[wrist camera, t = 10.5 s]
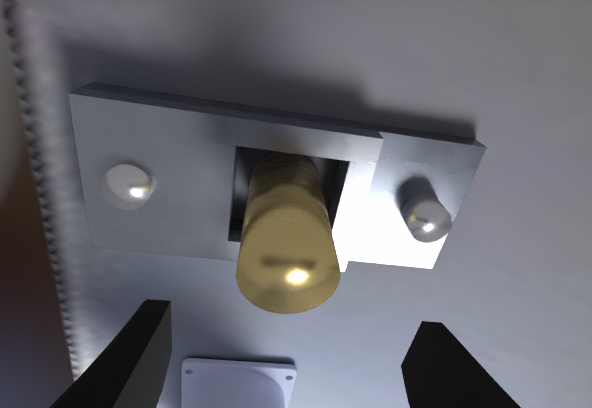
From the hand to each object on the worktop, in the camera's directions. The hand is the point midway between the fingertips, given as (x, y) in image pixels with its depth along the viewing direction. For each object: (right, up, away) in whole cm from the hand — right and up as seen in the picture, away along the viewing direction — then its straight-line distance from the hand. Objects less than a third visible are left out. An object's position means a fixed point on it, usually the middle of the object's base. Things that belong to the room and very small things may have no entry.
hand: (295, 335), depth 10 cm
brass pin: (-1, +5, +8) cm, 9 cm away
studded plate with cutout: (-1, +5, +8) cm, 9 cm away
